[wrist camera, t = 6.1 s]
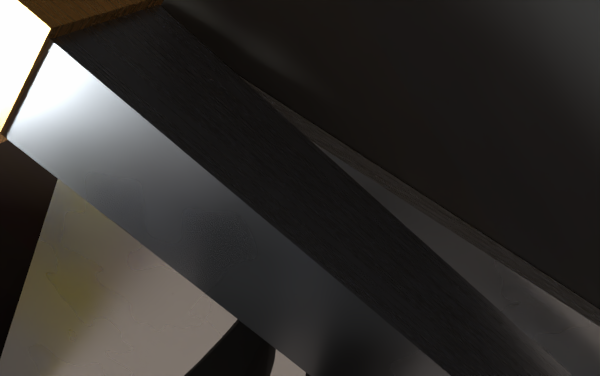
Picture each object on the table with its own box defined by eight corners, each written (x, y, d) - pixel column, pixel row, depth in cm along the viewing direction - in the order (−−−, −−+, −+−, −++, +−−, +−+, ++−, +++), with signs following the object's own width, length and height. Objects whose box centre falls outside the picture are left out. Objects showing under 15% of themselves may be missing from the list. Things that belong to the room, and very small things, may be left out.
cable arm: (725, 480, 12) (875, 756, 8) (638, 503, 13) (732, 755, 9) (120, -76, 9) (-132, -72, 5) (72, 18, 10) (-164, 84, 6)
